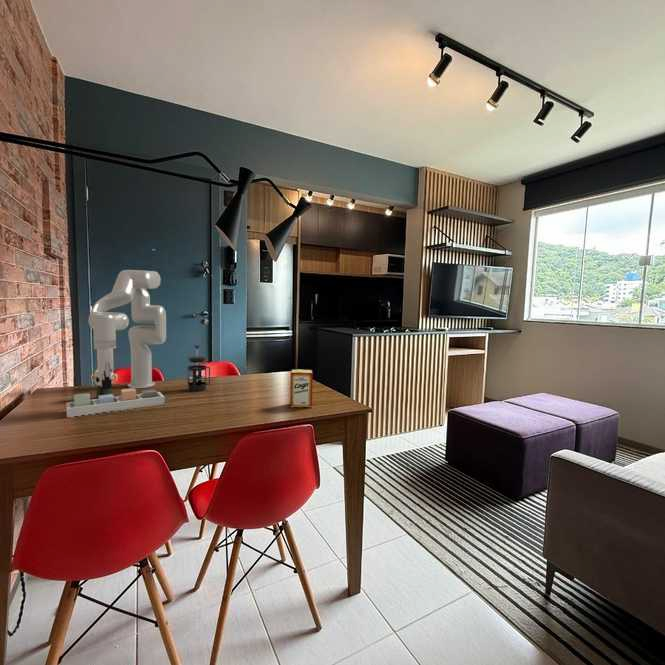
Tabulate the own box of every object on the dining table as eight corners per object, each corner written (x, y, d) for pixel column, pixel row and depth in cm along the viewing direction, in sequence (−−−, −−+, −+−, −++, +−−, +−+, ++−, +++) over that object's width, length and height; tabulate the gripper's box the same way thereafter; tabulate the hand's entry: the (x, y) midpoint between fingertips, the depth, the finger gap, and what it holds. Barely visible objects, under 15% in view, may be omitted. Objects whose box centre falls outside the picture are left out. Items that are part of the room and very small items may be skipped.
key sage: (74, 404, 139) (73, 394, 139) (89, 402, 142) (89, 392, 142) (74, 407, 135) (74, 397, 135) (90, 405, 139) (90, 395, 138)
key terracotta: (120, 398, 149) (120, 389, 149) (134, 397, 152) (134, 388, 152) (122, 401, 145) (122, 392, 145) (136, 399, 148) (136, 390, 148)
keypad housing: (66, 411, 140) (66, 402, 140) (159, 399, 161) (159, 391, 161) (66, 418, 132) (66, 408, 132) (164, 404, 153) (164, 396, 153)
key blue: (98, 405, 144) (98, 395, 144) (112, 403, 148) (112, 394, 147) (99, 408, 140) (99, 398, 140) (114, 406, 144) (114, 396, 143)
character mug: (87, 400, 155) (86, 371, 154) (95, 396, 162) (94, 368, 161) (114, 400, 157) (113, 371, 156) (120, 396, 164) (120, 368, 163)
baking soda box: (311, 403, 161) (312, 369, 160) (311, 408, 154) (312, 372, 153) (290, 403, 160) (291, 369, 159) (290, 408, 153) (290, 371, 152)
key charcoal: (142, 399, 154) (142, 390, 154) (154, 398, 157) (154, 389, 157) (144, 402, 150) (144, 393, 150) (157, 400, 153) (157, 391, 153)
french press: (183, 391, 175) (183, 346, 173) (189, 387, 184) (189, 343, 183) (207, 392, 176) (207, 346, 174) (212, 387, 185) (212, 344, 184)
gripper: (92, 342, 146) (94, 385, 148) (95, 347, 134) (97, 394, 136) (113, 341, 150) (115, 383, 152) (118, 346, 139) (120, 391, 141)
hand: (106, 388), depth 144 cm, fingers closed
